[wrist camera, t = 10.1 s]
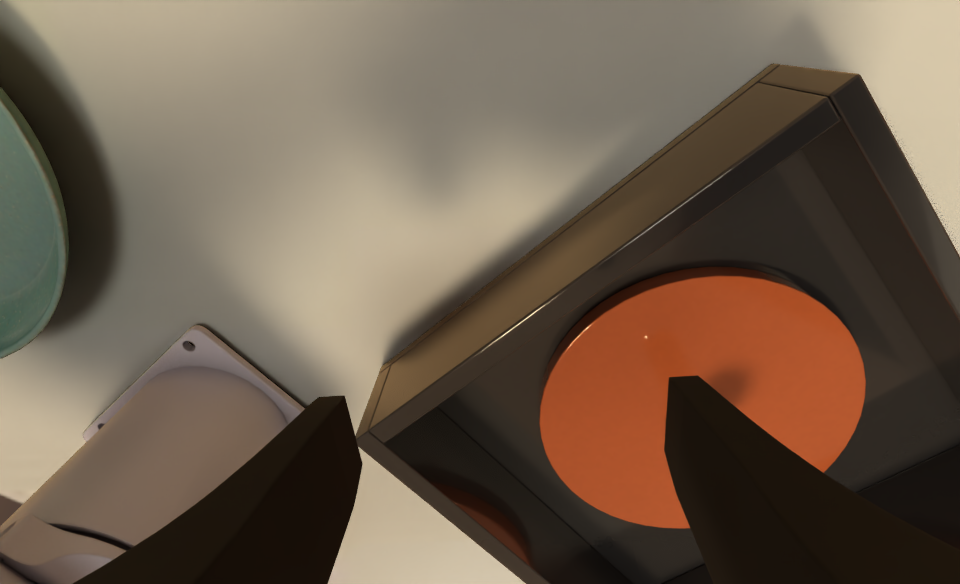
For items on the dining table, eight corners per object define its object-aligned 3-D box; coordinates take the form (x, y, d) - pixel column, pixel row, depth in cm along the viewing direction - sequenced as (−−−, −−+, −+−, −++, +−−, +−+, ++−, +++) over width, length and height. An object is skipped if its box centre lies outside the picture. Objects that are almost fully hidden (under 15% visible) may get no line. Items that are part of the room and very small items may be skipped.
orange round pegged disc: (647, 550, 27) (693, 721, 20) (476, 388, 23) (464, 534, 16) (906, 421, 23) (1072, 584, 16) (752, 195, 19) (887, 286, 12)
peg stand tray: (635, 595, 29) (658, 692, 25) (380, 366, 23) (351, 442, 19) (993, 427, 23) (1104, 517, 19) (772, 62, 17) (860, 72, 13)
